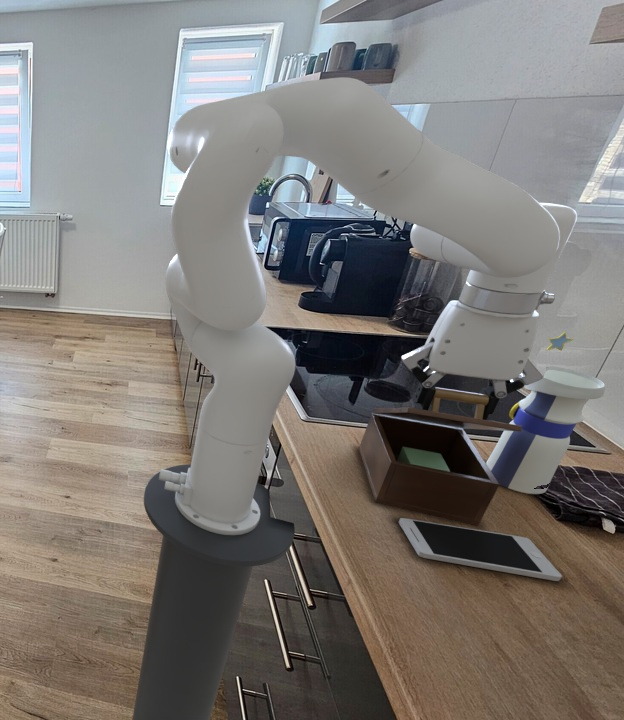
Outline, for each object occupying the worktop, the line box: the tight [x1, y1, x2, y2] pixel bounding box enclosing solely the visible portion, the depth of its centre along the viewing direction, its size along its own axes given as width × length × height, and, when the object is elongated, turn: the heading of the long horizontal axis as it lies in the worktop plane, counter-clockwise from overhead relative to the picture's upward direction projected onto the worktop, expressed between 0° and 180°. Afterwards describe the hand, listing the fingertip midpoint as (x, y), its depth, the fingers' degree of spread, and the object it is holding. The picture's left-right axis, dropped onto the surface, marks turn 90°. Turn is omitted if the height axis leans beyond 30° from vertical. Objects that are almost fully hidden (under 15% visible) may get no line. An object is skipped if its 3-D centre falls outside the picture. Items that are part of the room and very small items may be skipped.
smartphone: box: [398, 517, 563, 582], centre depth 70 cm, size 7×15×1 cm, turn 73°
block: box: [397, 447, 450, 472], centre depth 81 cm, size 5×5×5 cm
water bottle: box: [485, 331, 606, 495], centre depth 78 cm, size 8×9×25 cm
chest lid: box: [371, 386, 522, 432], centre depth 78 cm, size 16×13×5 cm
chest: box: [358, 412, 501, 526], centre depth 81 cm, size 16×13×8 cm
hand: (449, 410), depth 75 cm, fingers closed on chest lid, 6 cm apart
